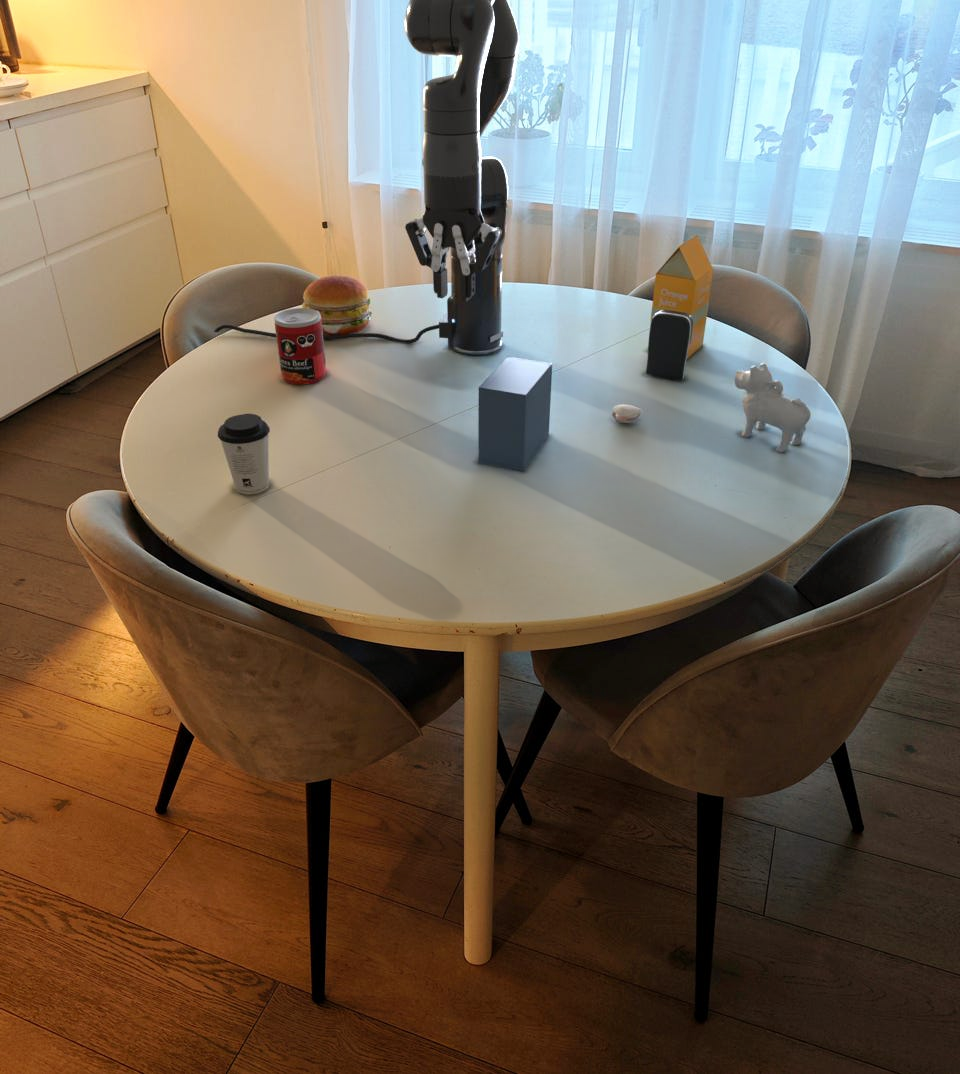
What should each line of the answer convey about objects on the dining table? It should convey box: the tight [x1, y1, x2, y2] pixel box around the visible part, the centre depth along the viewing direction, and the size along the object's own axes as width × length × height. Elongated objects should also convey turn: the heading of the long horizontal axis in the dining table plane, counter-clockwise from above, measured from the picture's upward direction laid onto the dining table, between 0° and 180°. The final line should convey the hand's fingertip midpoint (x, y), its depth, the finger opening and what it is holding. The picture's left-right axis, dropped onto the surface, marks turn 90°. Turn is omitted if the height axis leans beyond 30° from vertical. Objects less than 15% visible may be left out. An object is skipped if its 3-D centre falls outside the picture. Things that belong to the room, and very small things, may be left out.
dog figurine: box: [734, 362, 811, 453], centre depth 137 cm, size 5×13×11 cm, turn 40°
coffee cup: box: [217, 412, 271, 496], centre depth 124 cm, size 7×7×10 cm
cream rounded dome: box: [612, 403, 643, 424], centre depth 144 cm, size 4×5×2 cm
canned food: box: [273, 307, 327, 386], centre depth 156 cm, size 8×8×11 cm
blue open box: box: [477, 356, 553, 472], centre depth 133 cm, size 7×12×12 cm, turn 158°
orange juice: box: [650, 234, 715, 359], centre depth 164 cm, size 8×9×20 cm
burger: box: [301, 274, 373, 335], centre depth 176 cm, size 14×14×10 cm
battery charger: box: [645, 310, 693, 381], centre depth 156 cm, size 7×4×11 cm, turn 65°
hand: (454, 297), depth 127 cm, fingers open, 3 cm apart
